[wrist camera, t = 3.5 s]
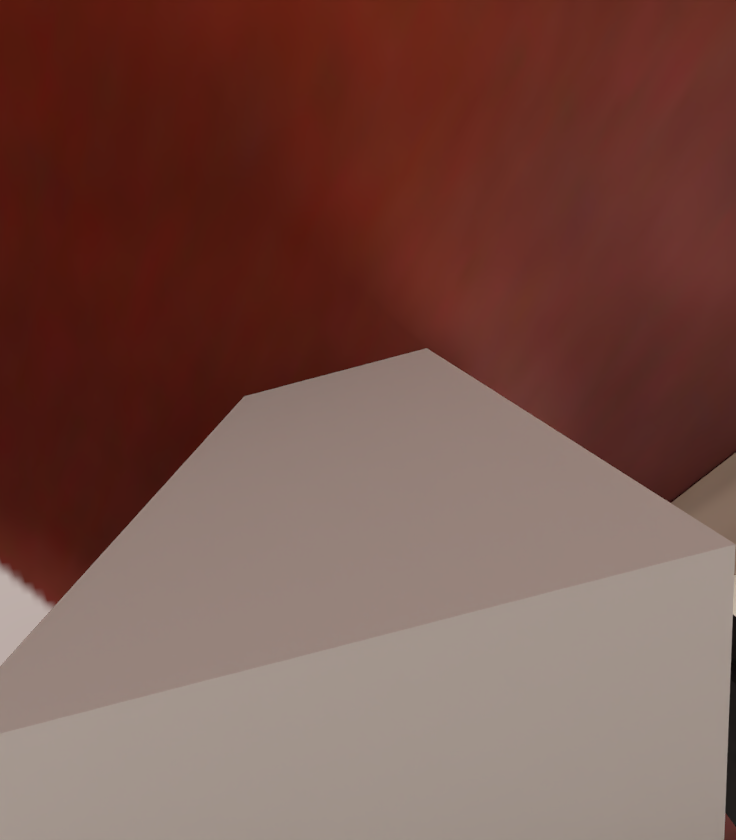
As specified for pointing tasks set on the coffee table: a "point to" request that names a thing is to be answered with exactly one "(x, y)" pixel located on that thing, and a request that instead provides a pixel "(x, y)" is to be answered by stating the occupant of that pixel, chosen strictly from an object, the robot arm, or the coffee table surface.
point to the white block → (381, 638)
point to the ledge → (715, 503)
